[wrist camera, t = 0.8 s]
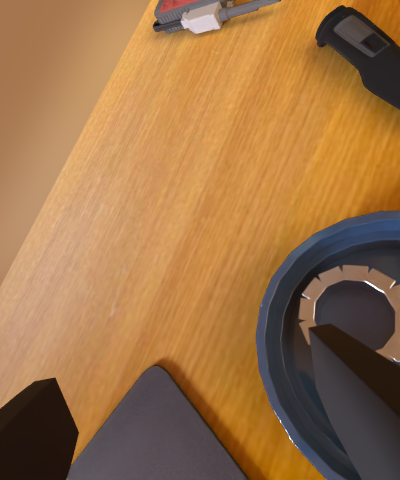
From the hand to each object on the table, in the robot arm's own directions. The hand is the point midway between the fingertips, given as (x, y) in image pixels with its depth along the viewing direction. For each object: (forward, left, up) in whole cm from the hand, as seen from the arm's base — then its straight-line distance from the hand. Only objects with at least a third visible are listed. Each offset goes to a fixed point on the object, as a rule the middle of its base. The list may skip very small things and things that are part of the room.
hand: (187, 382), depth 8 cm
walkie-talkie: (+34, -29, -15) cm, 48 cm away
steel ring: (-1, -5, -15) cm, 16 cm away
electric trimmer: (+9, -24, -15) cm, 30 cm away
